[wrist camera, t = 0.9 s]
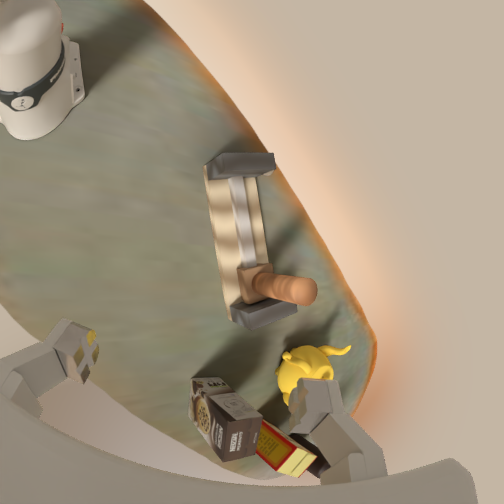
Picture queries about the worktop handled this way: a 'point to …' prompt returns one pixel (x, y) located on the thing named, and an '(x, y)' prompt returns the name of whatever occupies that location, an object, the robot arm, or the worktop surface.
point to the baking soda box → (282, 451)
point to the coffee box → (224, 418)
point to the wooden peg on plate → (274, 286)
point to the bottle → (320, 462)
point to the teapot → (305, 366)
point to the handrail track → (230, 234)
